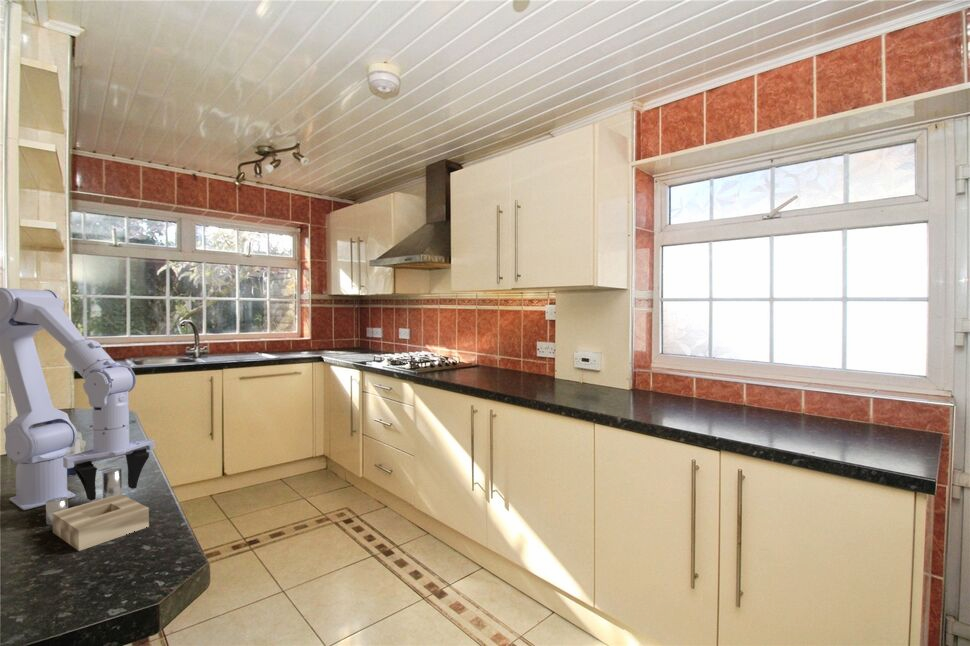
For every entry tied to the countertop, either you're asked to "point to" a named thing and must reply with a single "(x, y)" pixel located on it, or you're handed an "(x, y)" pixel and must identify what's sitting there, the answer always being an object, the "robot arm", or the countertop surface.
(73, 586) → the countertop surface
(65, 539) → the birch board
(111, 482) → the long steel pin
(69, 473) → the white and blue bar
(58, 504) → the short steel pin
